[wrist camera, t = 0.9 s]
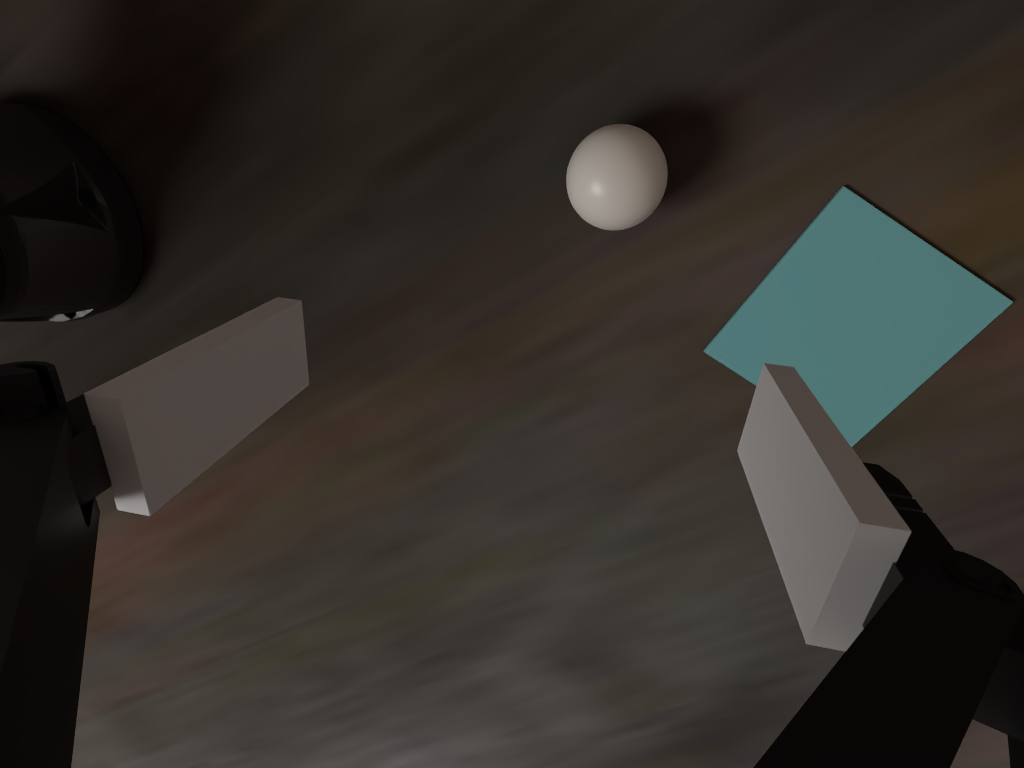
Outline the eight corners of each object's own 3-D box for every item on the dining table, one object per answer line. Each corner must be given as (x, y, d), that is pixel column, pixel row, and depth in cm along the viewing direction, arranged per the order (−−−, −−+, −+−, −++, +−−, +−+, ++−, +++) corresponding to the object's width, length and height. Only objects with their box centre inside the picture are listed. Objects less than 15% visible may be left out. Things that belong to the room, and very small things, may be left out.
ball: (553, 191, 34) (541, 201, 29) (604, 104, 32) (600, 100, 27) (628, 240, 35) (628, 258, 30) (684, 158, 32) (694, 163, 27)
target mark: (703, 350, 36) (703, 351, 36) (842, 186, 31) (843, 186, 31) (850, 445, 37) (851, 447, 37) (1011, 300, 32) (1013, 302, 32)
